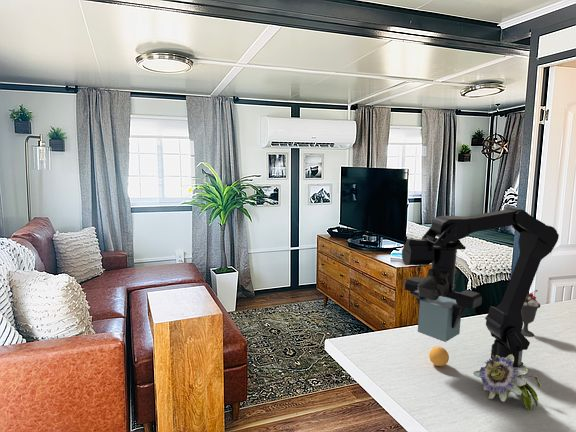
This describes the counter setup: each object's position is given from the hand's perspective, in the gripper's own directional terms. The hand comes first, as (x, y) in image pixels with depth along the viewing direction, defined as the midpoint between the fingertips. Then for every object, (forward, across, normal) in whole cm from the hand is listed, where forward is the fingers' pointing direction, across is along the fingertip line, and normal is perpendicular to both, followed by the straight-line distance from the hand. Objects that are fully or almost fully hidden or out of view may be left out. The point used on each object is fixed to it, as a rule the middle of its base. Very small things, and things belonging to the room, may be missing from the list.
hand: (438, 322), depth 103 cm
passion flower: (+12, +18, 0) cm, 22 cm away
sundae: (+12, +8, +42) cm, 45 cm away
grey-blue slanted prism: (+3, 0, 0) cm, 3 cm away
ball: (+10, 0, +2) cm, 10 cm away
